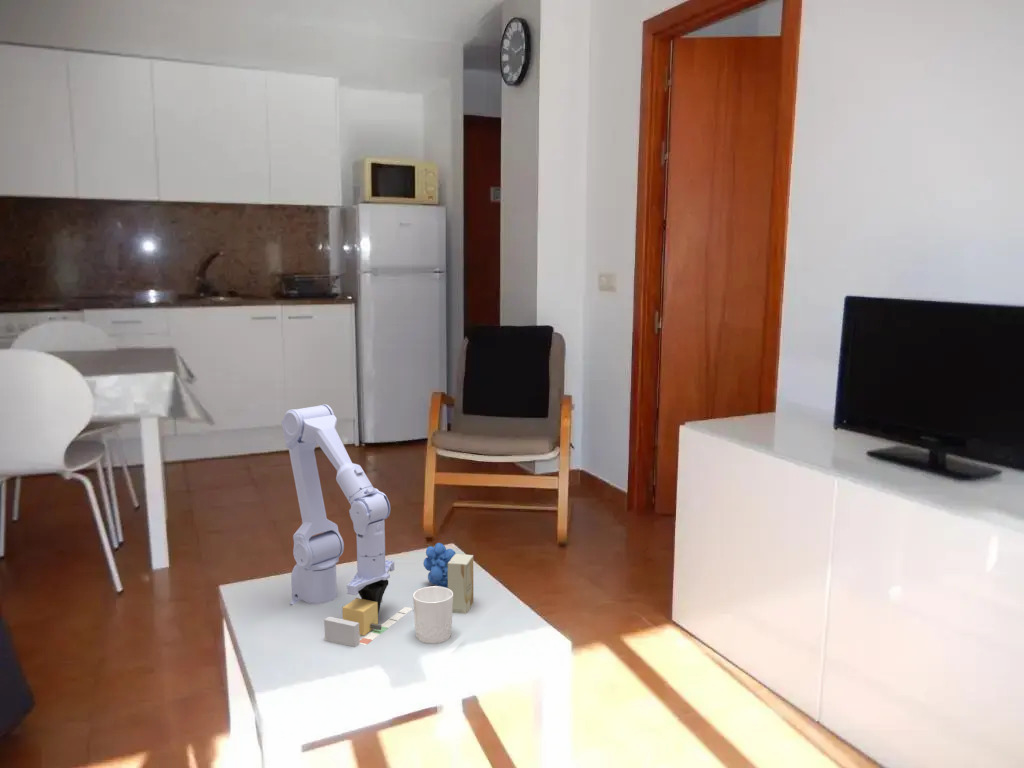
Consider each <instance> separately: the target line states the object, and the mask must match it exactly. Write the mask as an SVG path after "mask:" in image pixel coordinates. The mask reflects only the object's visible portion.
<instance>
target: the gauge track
mask: <svg viewBox="0 0 1024 768" xmlns="http://www.w3.org/2000/svg"><path fill="white" fill-rule="evenodd" d="M382 602H384V601H383V597H382V601H381V603H382ZM412 610H414V607H413V608H412V607H407V606H404V607H403V608H402V609H400V610H398V611H397V612H396V613H395V614H394V615H392V616H391V617H389V618H388V619H386V620H385V621H384V622H383V623H381V624H380V625H381V630H376V629H372V630H371V631H370V632H369V633H367V634H366V635H365V636H364V637H363V638H361V639H360V635H359V623H357V622H353V621H348V620H343V618H338V617H333V616H328V617H326V618H325V619H324V620H323V621H324V623H323V624H324V641H325V642H331V643H335V644H340V645H344V646H348V647H349V646H350V647H353V648H357V646H359V645H360V646H361V645H362V646H367V645H368V644H370V643H371V642H372V641H373V640H374V639H376V638H377V637H378V636H380V635H382V634H383V633H384V632H386V631H387V630H388V629H389V628H390V627H391V626H393V625H394V624H395V623H397V622H398V621H399V620H401V619H402V618H403V617H404V616H405V615H407V614H408V613H409V612H411V611H412Z"/></svg>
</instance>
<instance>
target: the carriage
mask: <svg viewBox="0 0 1024 768" xmlns="http://www.w3.org/2000/svg"><path fill="white" fill-rule="evenodd" d="M341 610H342V619H343V620H348V621H353V622H357V623H359V636H364V637H365V636H367V635H368V634H369V633H371V632H372V631H373V630H375V629H376V630H381V625H382V624H379V613H378V602H375V601H370V600H365V599H361V597H360V598H359V597H356V598H355V599H353V600H352V601H350V602H349V603H347V604H345V605H344V606H343V607H342V609H341Z"/></svg>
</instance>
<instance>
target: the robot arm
mask: <svg viewBox="0 0 1024 768" xmlns="http://www.w3.org/2000/svg"><path fill="white" fill-rule="evenodd" d="M337 426H338V418H337V417H336V416H335V413H334V410H333V409H332V407H331V406H330V405H328V404H326V403H324V404H323V403H322V404H320V405H316V406H308V407H302V408H301V407H300V408H296V409H294V408H293V409H292V408H291V409H289V410H286V412H285V414H284V416H283V418H282V420H281V427H282V432H283V438H284V443H285V447H286V448H288V453H289V457H290V458H289V459H290V463H291V468H292V474H293V479H294V483H295V484H294V485H295V489H296V496H297V502H298V506H299V511H300V516H301V525H300V526H299V527H298V528H297V530H296V531H295V532H294V534H292V535H293V536H292V539H293V552H292V553H293V557H294V560H295V562H296V564H295V565H293V566H294V567H293V568H292V571H291V577H290V579H291V601H290V602H289V605H290V606H293V605H295V604H297V602H300V601H303V602H306V603H309V604H315V605H317V604H326V603H329V602H332V601H334V600H336V598H337V597H338V589H337V588H338V584H337V583H338V581H337V563H339V562H340V557H341V556H342V555H343V553H344V549H345V543H344V539H343V537H342V535H341V533H340V532H339V531H340V530H339V527H338V524H337V523H335V522H334V521H332V520H329V519H328V518H327V512H326V506H325V502H324V497H323V492H322V486H321V481H320V474H319V469H318V465H317V459H316V458H317V457H316V455H315V449H316V446H319V447H320V449H321V450H322V452H323V454H325V456H326V457H327V459H328V460H329V462H330V463H331V464H332V466H333V467H334V468H335V470H336V477H335V480H336V482H337V485H338V486H339V487H340V489H341V491H342V492H343V494H344V496H345V498H346V499H347V501H348V503H349V505H350V509H348V510H349V511H348V512H349V517H350V519H351V521H352V524H353V530H354V533H356V536H355V537H356V565H357V567H356V570H357V571H356V573H355V575H354V576H353V578H352V579H351V581H350V582H349V583H347V585H346V594H347V595H353V596H357V595H359V596H360V599H365V600H370V601H375V602H378V614H379V613H380V609H381V605H382V604H381V603H382V602H381V601H382V598H383V597H384V594H385V591H386V589H387V587H388V586H389V579H390V578H391V574H390V573H389V572H394V571H395V561H393V560H387V559H386V533H385V532H386V531H385V526H386V524H385V520H386V519H388V517H390V514H391V503H390V501H389V499H388V496H387V495H386V494H385V492H383V491H380V490H379V489H378V488H375V487H374V486H373V484H372V483H371V481H370V479H369V478H368V475H367V474H366V473H365V471H364V470H363V468H362V466H361V464H357V463H353V462H352V459H351V457H350V455H349V454H348V452H347V451H348V450H347V449H346V446H345V445H344V443H343V442H342V439H341V437H340V436H339V434H338V430H337Z"/></svg>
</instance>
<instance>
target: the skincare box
mask: <svg viewBox="0 0 1024 768" xmlns="http://www.w3.org/2000/svg"><path fill="white" fill-rule="evenodd" d="M448 589H450V590H451V591H452V592H453V609H452V614H453V613H454V614H462V615H463V614H465V615H467V614H468V613H469V611H470V609H471V607H472V606H473V604H474V603H475V602H474V554H461V553H456V554H455V555H454V556H453V557H452V558H451V560H450V561H449V562H448Z"/></svg>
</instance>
